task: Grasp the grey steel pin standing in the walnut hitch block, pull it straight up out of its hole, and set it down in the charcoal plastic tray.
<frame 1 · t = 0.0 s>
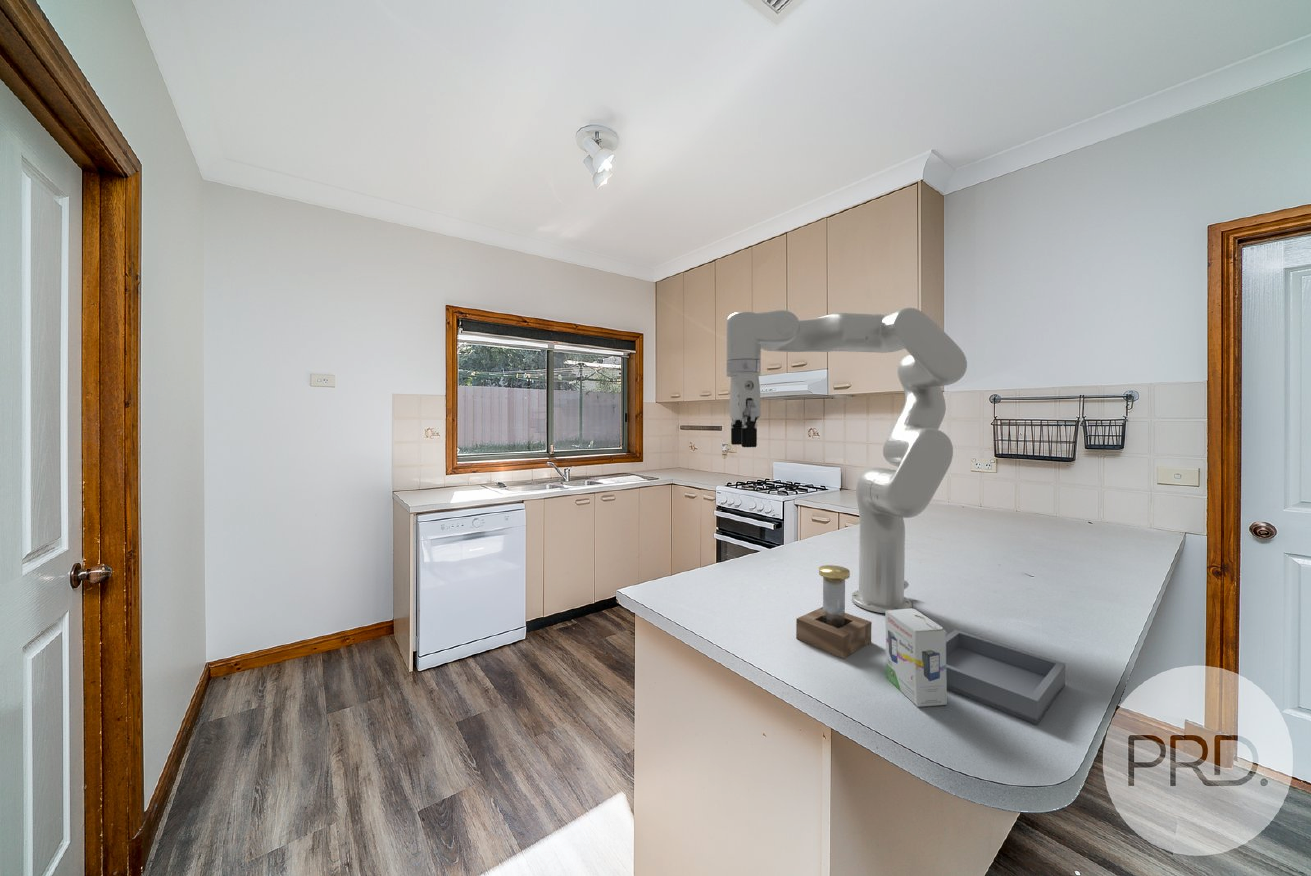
hand: (743, 445, 106), 37 cm above the table, tool pointing down, fingers open, 9 cm apart
tray: (989, 680, 78), on the table
hitch block: (833, 640, 92), on the table
steel pin: (833, 605, 92), in the hitch block
ink box: (913, 692, 75), on the table
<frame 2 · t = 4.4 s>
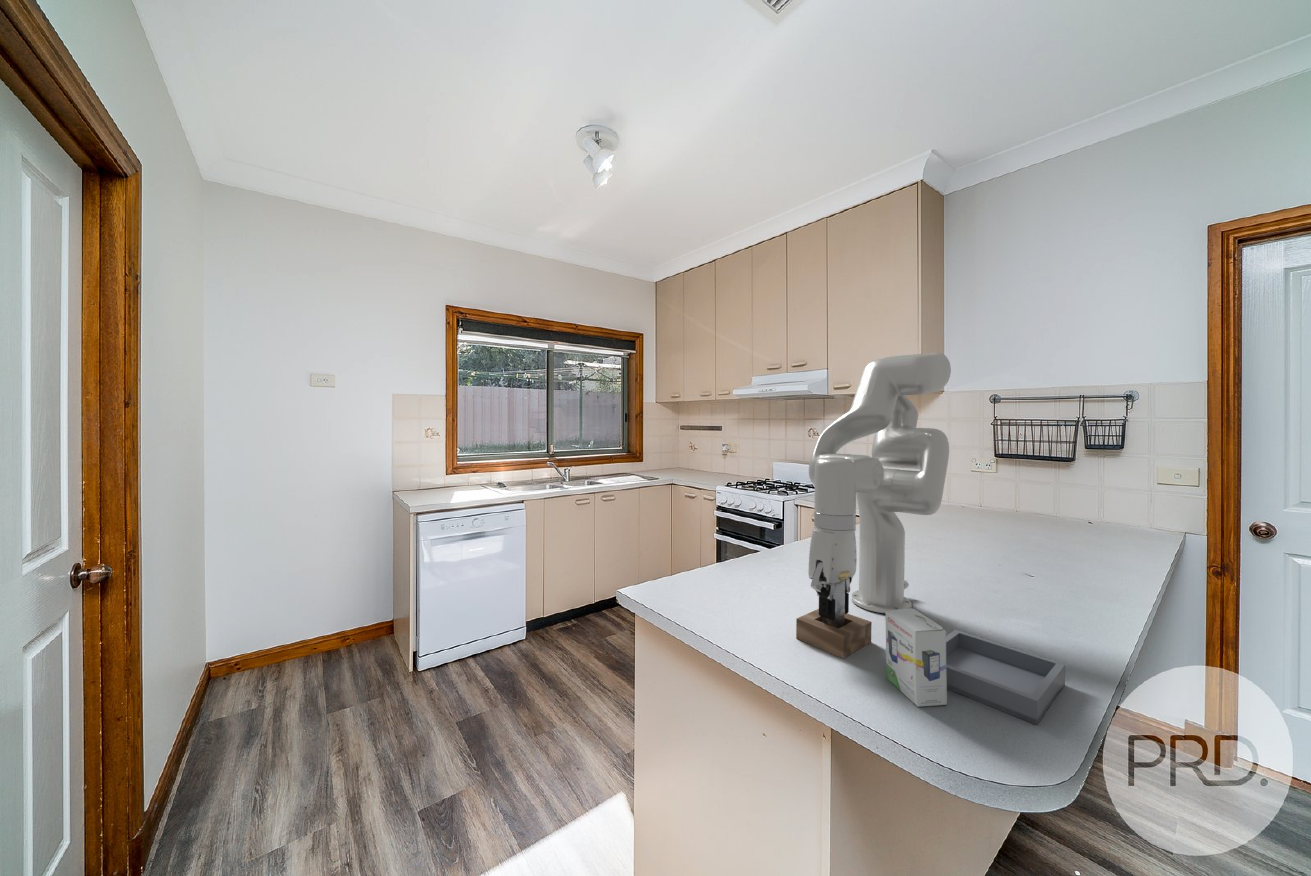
hand: (833, 613, 92), 5 cm above the table, tool pointing down, fingers closed on steel pin, 4 cm apart
steel pin: (833, 605, 92), in the hitch block, touching gripper
everything else where it was.
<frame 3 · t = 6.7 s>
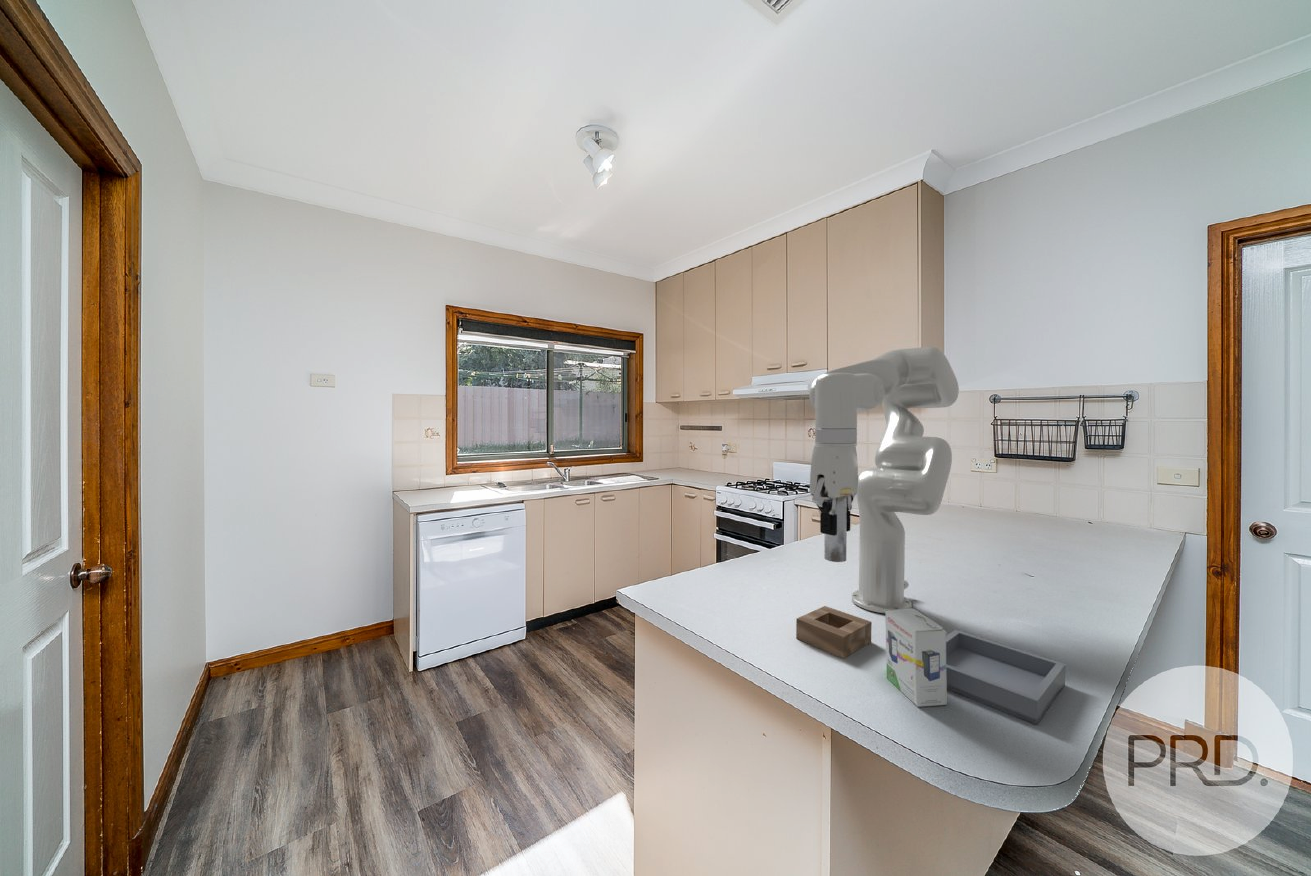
hand: (835, 531, 92), 22 cm above the table, tool pointing down, fingers closed on steel pin, 4 cm apart
steel pin: (835, 523, 92), point 23 cm above the table, touching gripper
everything else where it was.
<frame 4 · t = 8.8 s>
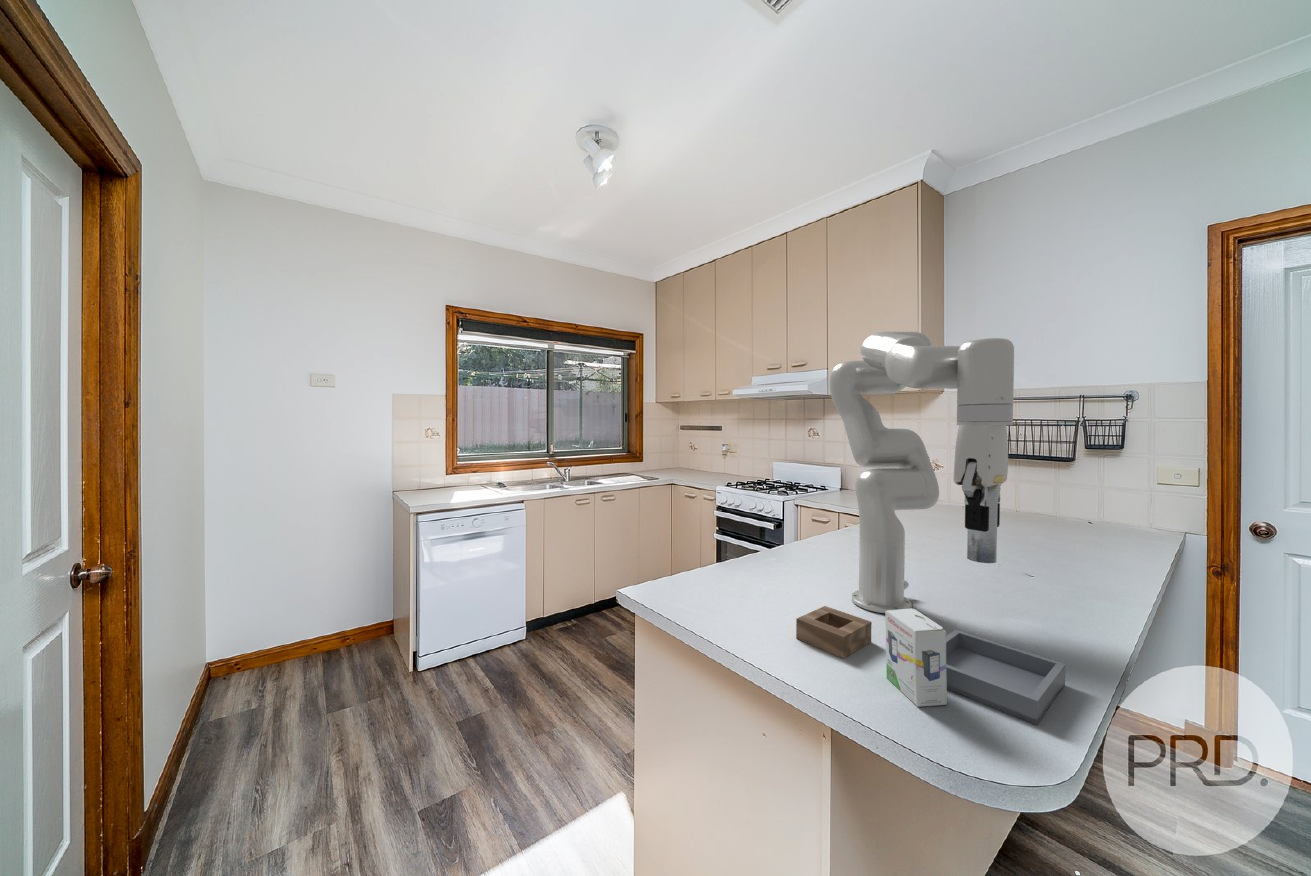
hand: (982, 526, 78), 26 cm above the table, tool pointing down, fingers closed on steel pin, 4 cm apart
steel pin: (982, 517, 78), point 27 cm above the table, touching gripper
everything else where it was.
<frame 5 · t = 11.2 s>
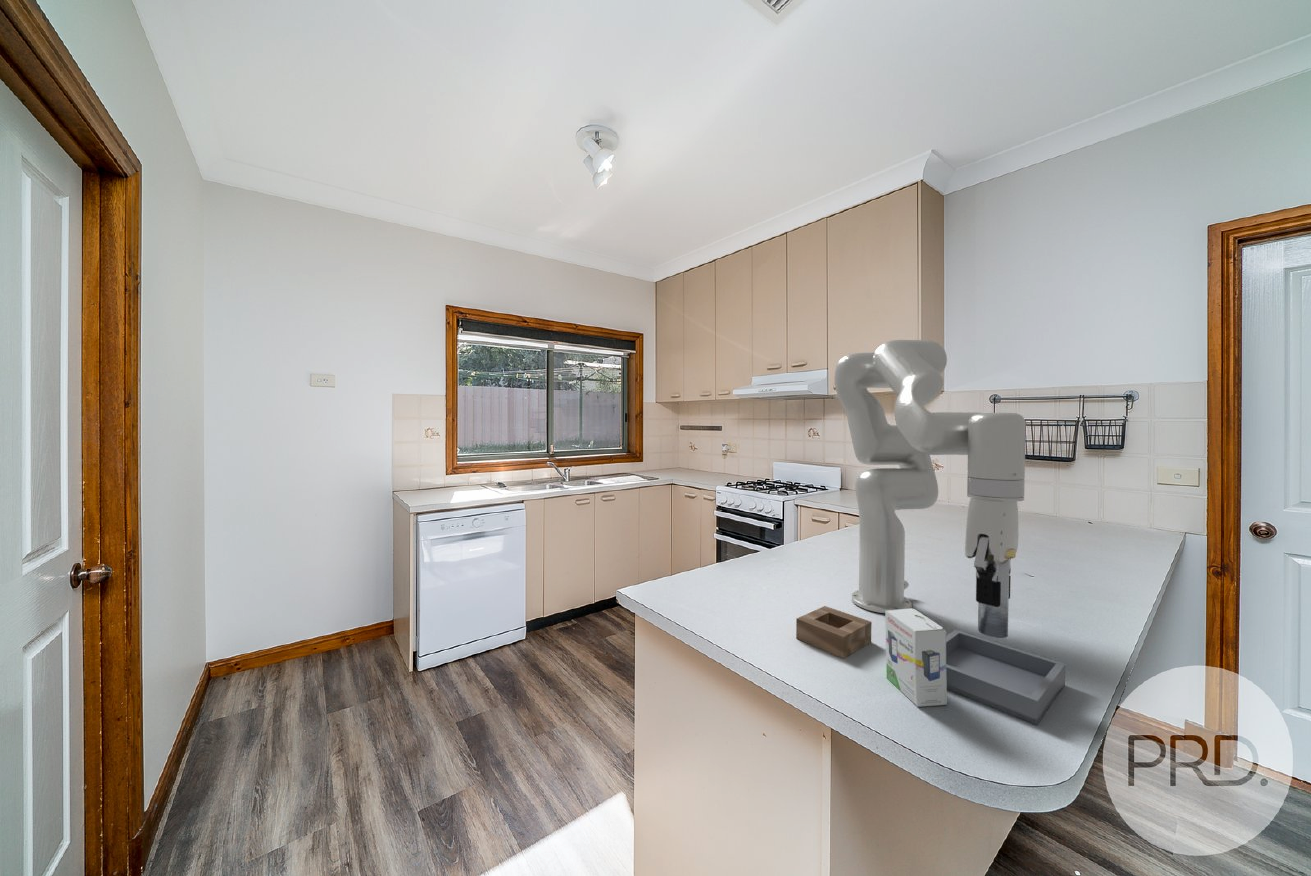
hand: (993, 599, 77), 14 cm above the table, tool pointing down, fingers closed on steel pin, 4 cm apart
steel pin: (993, 590, 77), point 15 cm above the table, touching gripper
everything else where it was.
when the fingers open (7 cm above the table, at t = 13.3 s): steel pin stays where it is, resting on tray.
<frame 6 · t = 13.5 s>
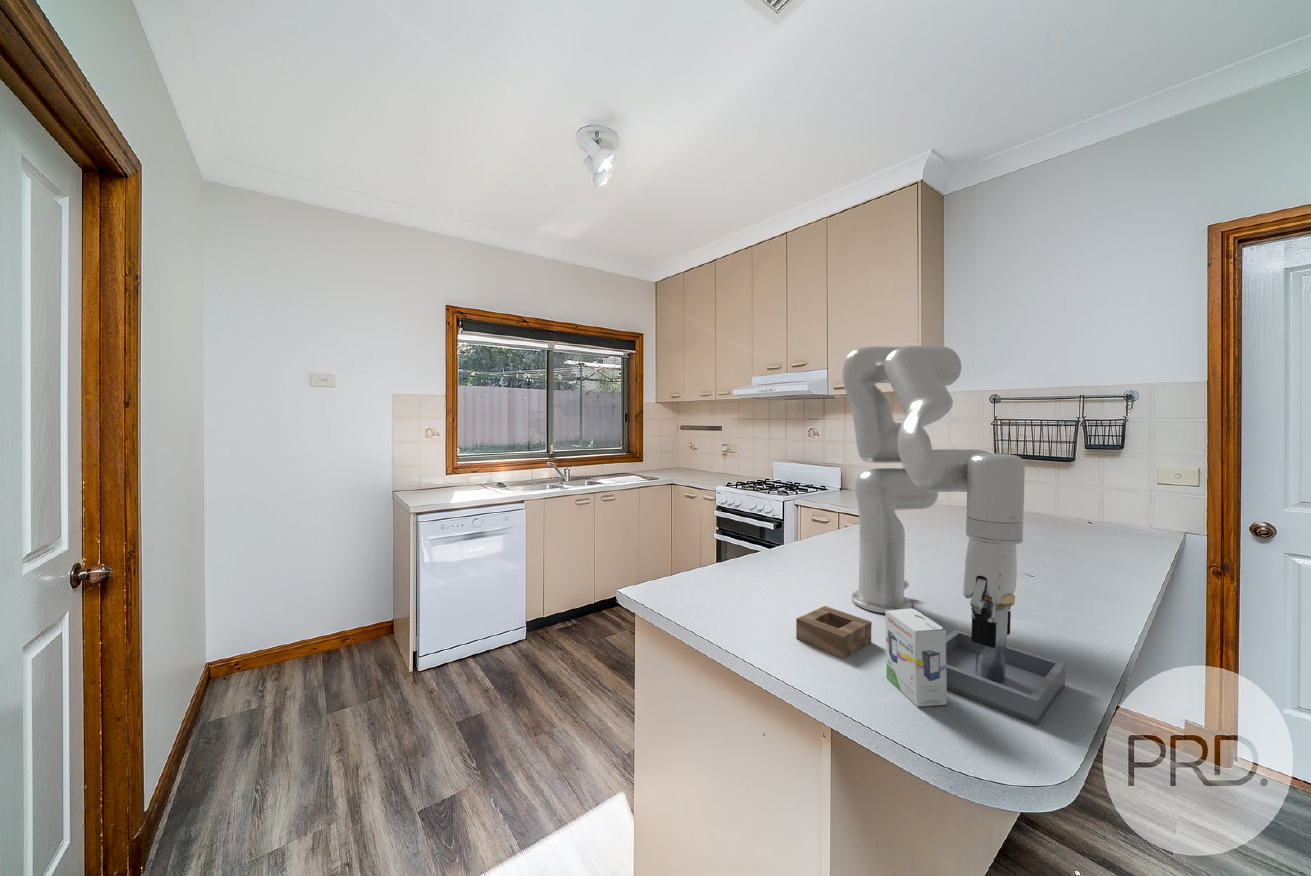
hand: (991, 636, 78), 7 cm above the table, tool pointing down, fingers open, 6 cm apart
steel pin: (991, 634, 78), in the tray, point 8 cm above the table
everything else where it was.
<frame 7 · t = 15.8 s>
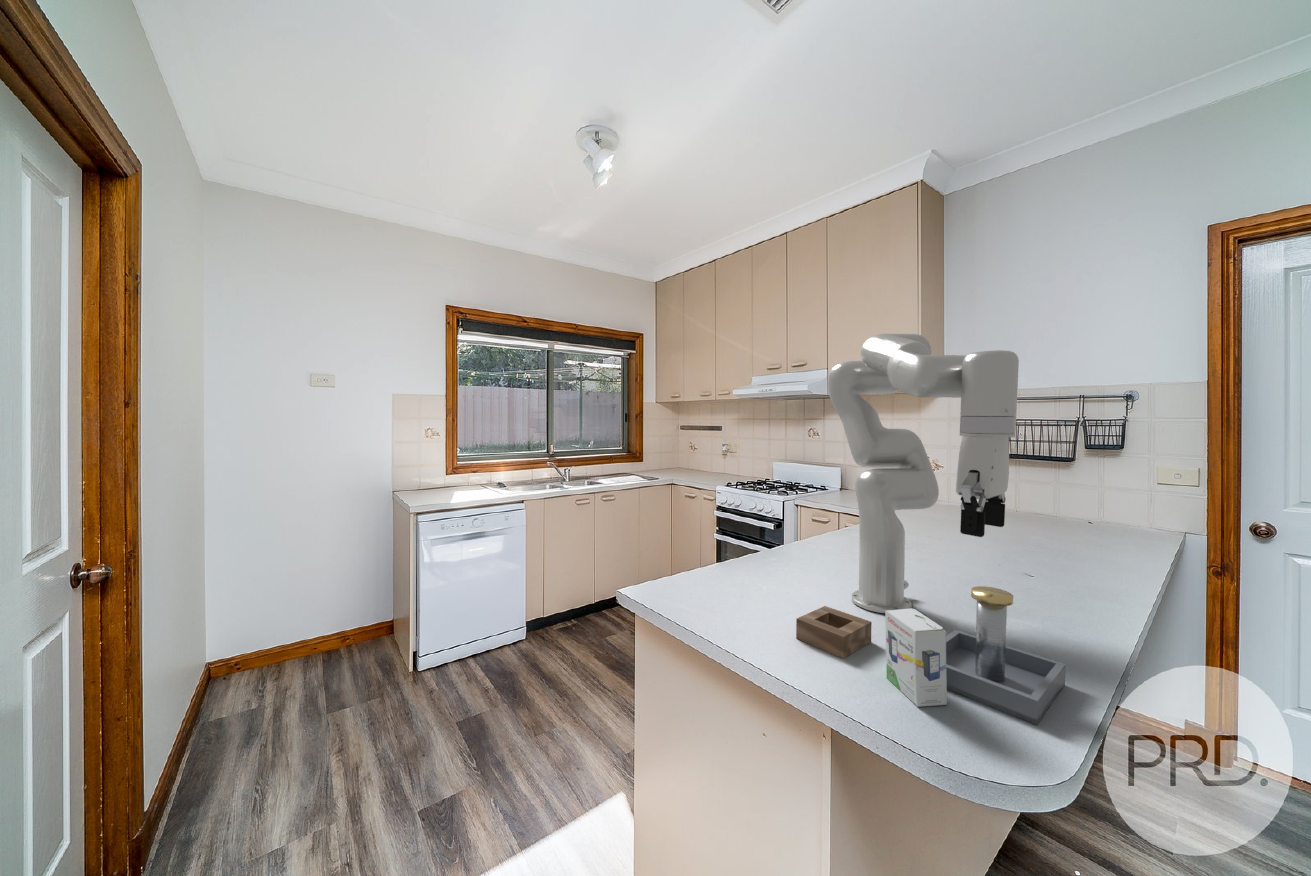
hand: (982, 530, 79), 25 cm above the table, tool pointing down, fingers open, 9 cm apart
nothing on the table moved.
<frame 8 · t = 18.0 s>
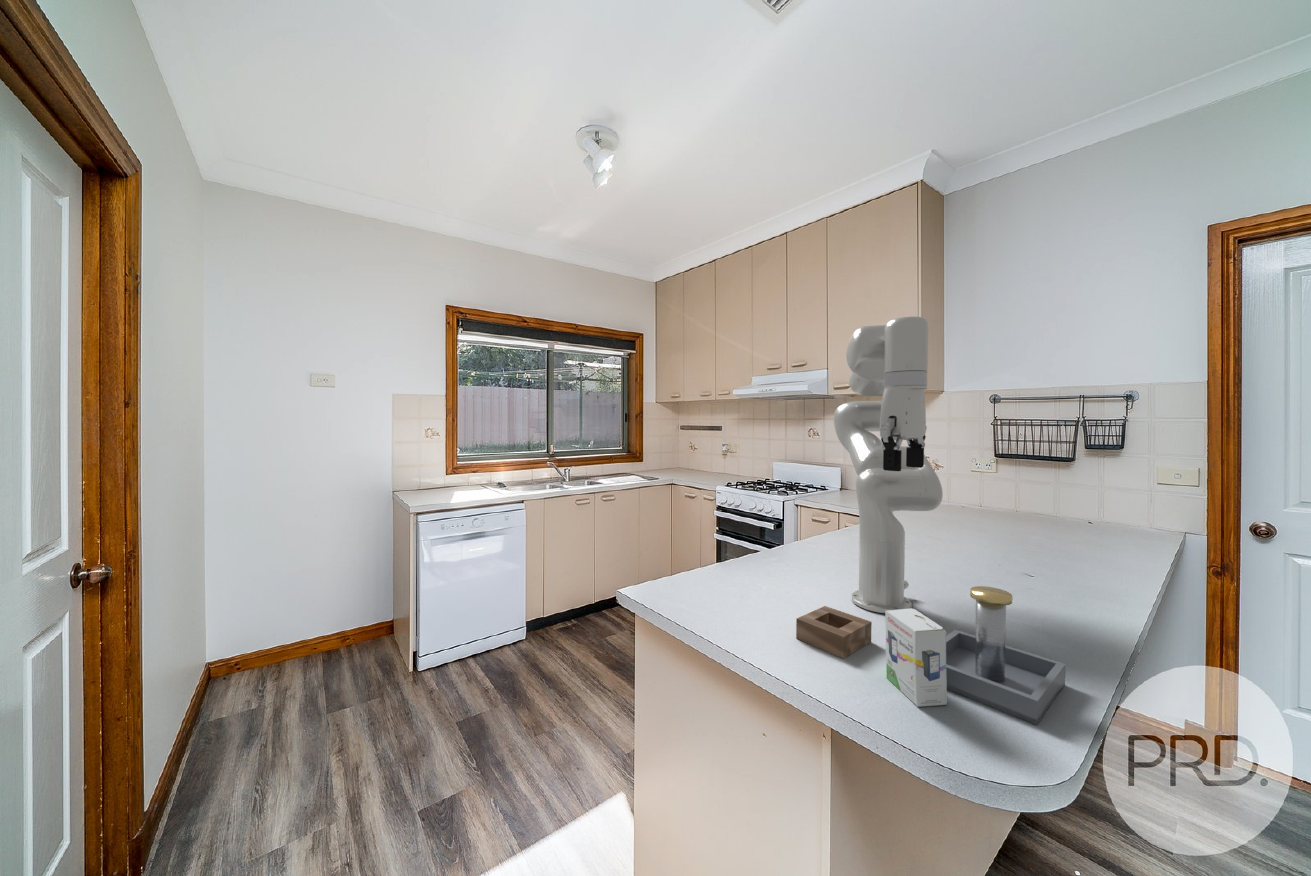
hand: (903, 468, 94), 33 cm above the table, tool pointing down, fingers open, 9 cm apart
nothing on the table moved.
at the end: steel pin inside the target area on the tray (0.1 cm from its centre), point 7.8 cm above the tray's base; the gripper is holding nothing; steel pin moved 25.0 cm from its start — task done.
